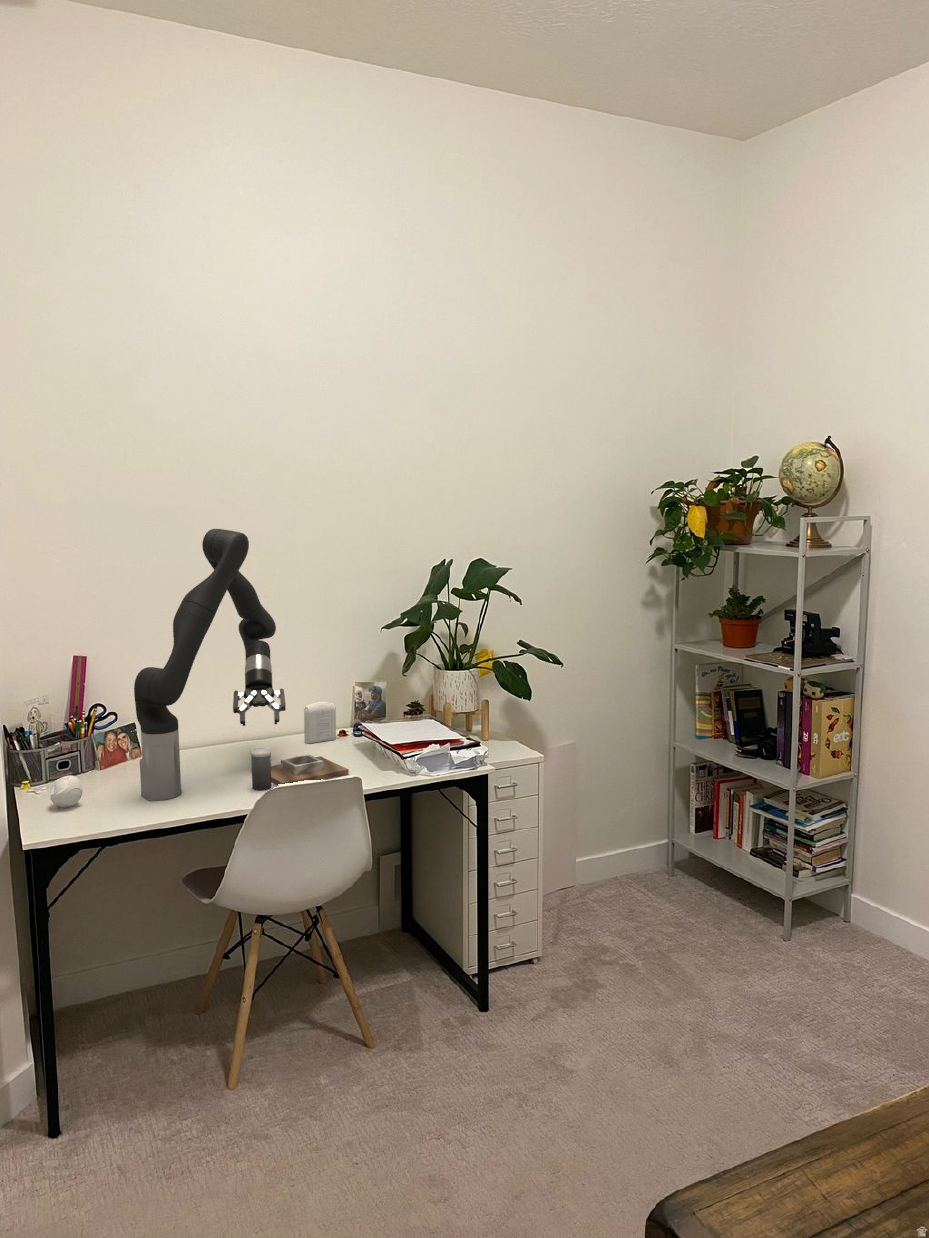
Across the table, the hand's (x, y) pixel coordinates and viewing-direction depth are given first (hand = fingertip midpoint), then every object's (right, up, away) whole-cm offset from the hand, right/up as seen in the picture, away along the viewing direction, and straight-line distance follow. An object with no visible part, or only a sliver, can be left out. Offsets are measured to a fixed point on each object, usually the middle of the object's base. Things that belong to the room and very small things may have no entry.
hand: (260, 723), depth 262 cm
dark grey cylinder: (+3, -16, -9) cm, 18 cm away
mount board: (+11, -14, +3) cm, 18 cm away
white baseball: (-43, -18, -23) cm, 52 cm away
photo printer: (+11, -10, +37) cm, 40 cm away
